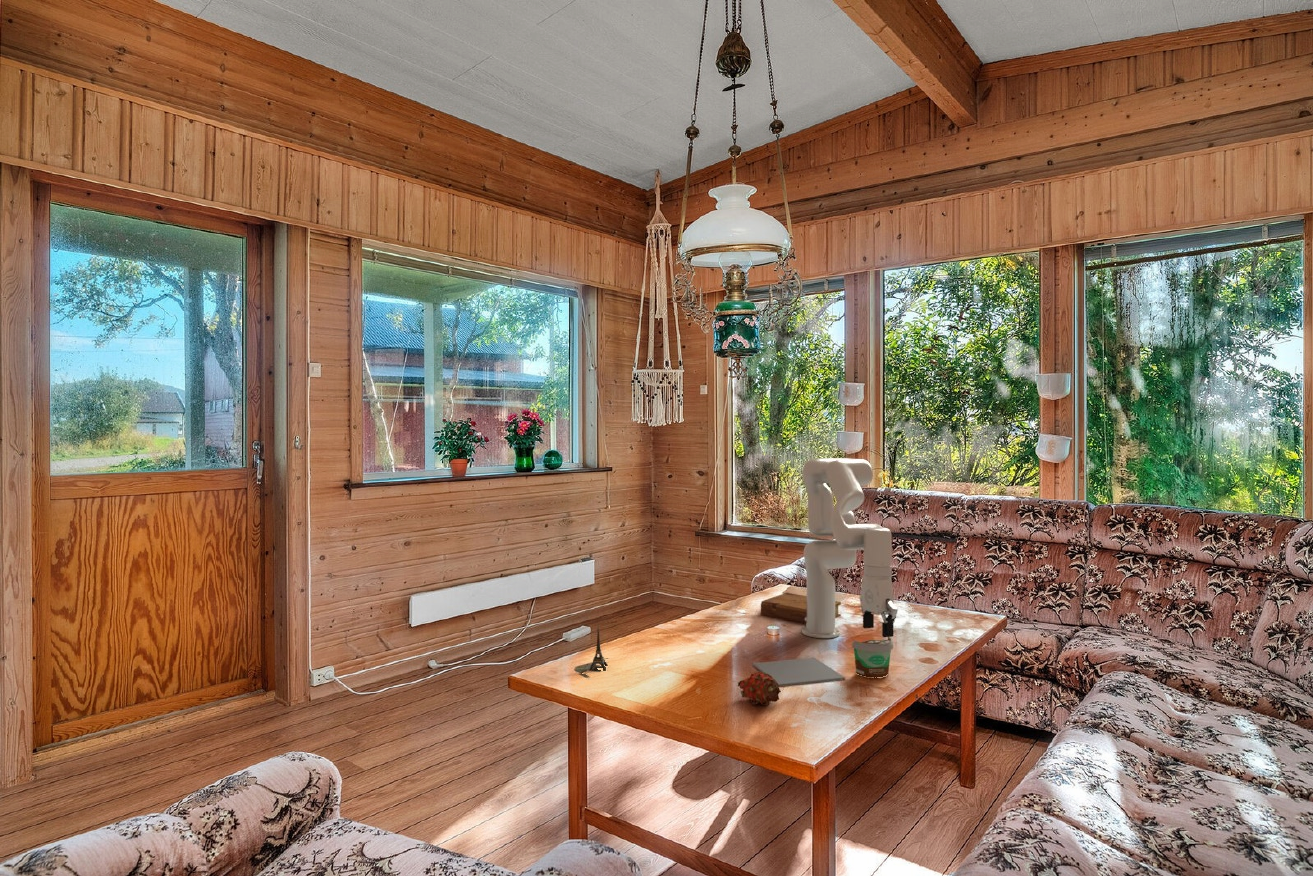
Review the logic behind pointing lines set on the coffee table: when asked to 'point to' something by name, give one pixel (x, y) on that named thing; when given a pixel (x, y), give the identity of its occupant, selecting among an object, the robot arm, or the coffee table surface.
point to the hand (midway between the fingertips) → (877, 632)
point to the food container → (872, 657)
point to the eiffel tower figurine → (596, 660)
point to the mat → (798, 671)
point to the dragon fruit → (760, 688)
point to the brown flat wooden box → (789, 607)
